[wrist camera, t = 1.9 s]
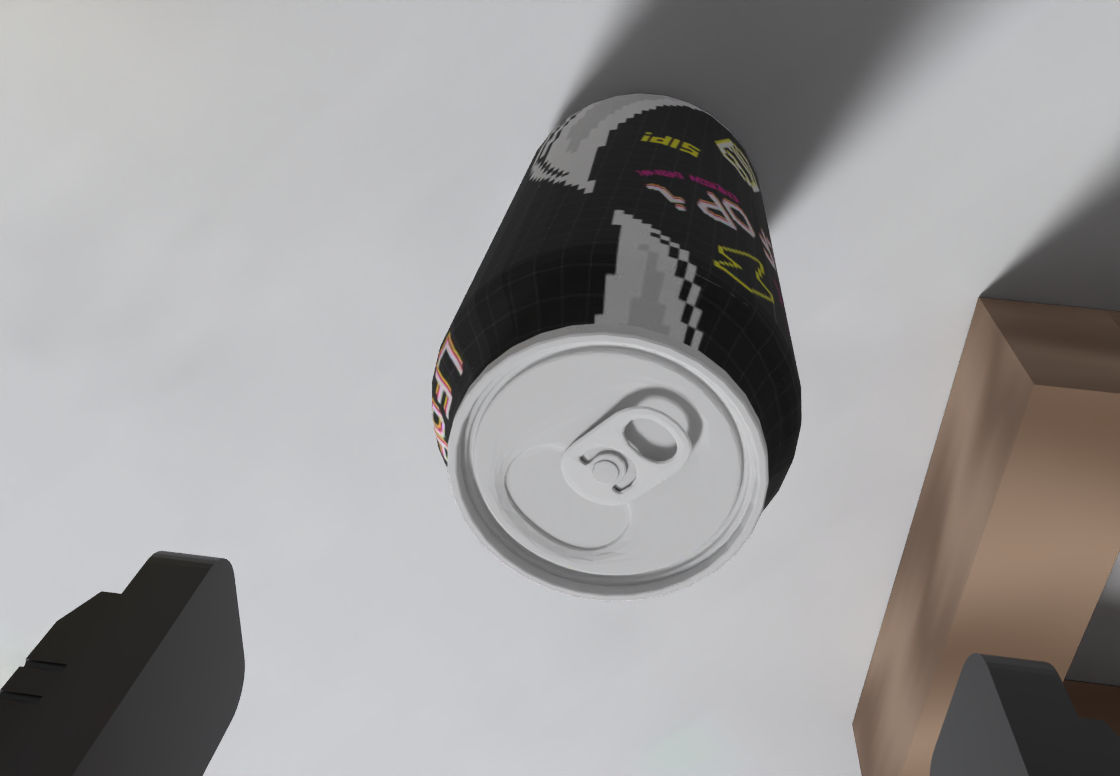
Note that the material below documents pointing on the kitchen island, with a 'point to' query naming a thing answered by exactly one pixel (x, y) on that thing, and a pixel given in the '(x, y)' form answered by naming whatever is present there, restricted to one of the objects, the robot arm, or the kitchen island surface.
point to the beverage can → (622, 359)
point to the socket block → (1003, 526)
